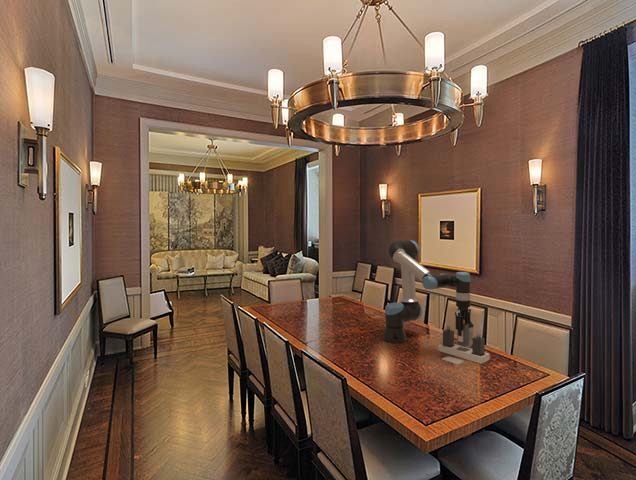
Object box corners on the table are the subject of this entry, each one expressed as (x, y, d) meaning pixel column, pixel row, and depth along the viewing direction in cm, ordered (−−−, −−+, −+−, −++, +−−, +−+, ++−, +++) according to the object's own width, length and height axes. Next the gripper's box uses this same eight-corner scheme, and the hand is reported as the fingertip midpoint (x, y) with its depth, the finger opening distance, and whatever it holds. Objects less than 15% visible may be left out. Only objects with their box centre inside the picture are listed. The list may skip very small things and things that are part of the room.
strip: (438, 351, 207) (438, 326, 206) (446, 348, 213) (446, 323, 212) (481, 365, 187) (481, 337, 186) (489, 360, 193) (489, 333, 192)
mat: (441, 359, 195) (441, 359, 195) (448, 356, 199) (448, 355, 199) (458, 365, 187) (458, 364, 187) (464, 361, 192) (464, 361, 192)
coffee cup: (464, 348, 212) (464, 324, 211) (454, 343, 220) (454, 320, 220) (476, 347, 214) (477, 322, 214) (466, 342, 223) (467, 318, 222)
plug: (464, 346, 196) (464, 321, 196) (457, 344, 200) (457, 319, 199) (468, 345, 199) (469, 319, 199) (461, 343, 203) (461, 318, 202)
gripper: (461, 302, 190) (461, 345, 191) (477, 298, 201) (477, 338, 202) (448, 300, 196) (448, 342, 197) (464, 296, 207) (464, 335, 208)
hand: (463, 340), depth 199 cm, fingers closed on plug, 4 cm apart
